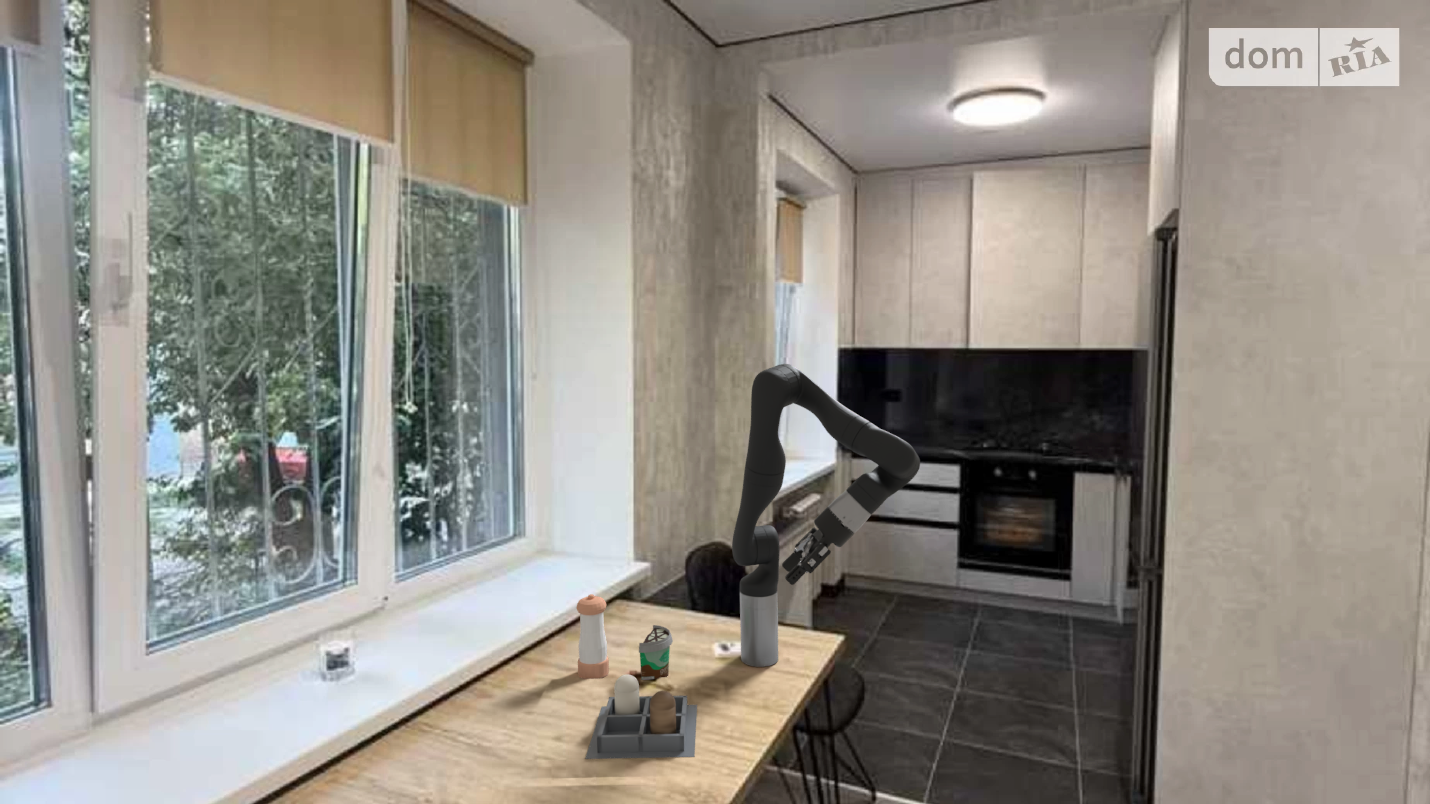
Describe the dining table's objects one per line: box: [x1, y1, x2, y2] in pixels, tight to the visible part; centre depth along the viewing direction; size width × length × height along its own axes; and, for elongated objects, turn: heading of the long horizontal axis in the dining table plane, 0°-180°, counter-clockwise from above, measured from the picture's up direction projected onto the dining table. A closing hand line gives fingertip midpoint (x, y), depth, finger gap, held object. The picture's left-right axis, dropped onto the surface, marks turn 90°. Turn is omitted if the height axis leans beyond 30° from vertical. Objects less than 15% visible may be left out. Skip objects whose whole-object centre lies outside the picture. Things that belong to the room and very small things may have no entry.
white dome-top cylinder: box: [613, 673, 640, 715], centre depth 153 cm, size 5×5×10 cm
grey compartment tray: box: [584, 695, 698, 760], centre depth 149 cm, size 20×20×4 cm
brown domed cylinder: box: [650, 690, 676, 734], centre depth 145 cm, size 5×5×10 cm
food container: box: [638, 624, 673, 681], centre depth 176 cm, size 12×6×10 cm, turn 168°
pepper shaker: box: [575, 594, 610, 680], centre depth 178 cm, size 7×7×19 cm
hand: (786, 575), depth 152 cm, fingers open, 8 cm apart
